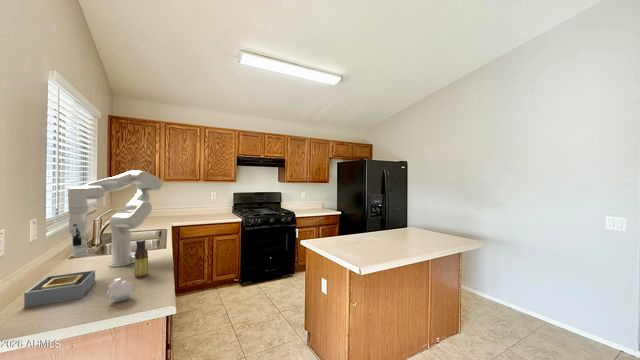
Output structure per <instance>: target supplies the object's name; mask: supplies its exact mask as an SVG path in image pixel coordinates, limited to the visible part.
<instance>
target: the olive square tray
mask: <svg viewBox="0 0 640 360" xmlns="http://www.w3.org/2000/svg"><path fill="white" fill-rule="evenodd" d="M82 281H83V274H82V275H75V276H67V277H59V278H53V279H51V280H50V281H49V282H47V283H46V284H45V285H44V286H42V287H41V290H44V289H51V288H58V287H65V286H72V285H79V284H81V282H82Z"/></svg>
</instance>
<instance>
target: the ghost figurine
mask: <svg viewBox="0 0 640 360" xmlns="http://www.w3.org/2000/svg"><path fill="white" fill-rule="evenodd" d="M134 287H135V286H134V284H133V282H131V281H130V280H128V279H127V280H126V279H123V278H122V277H120V278H119V277H118V278H115V279H114V280H112V282H111V283H110V284H109V285H108V286H107V289H108V290H107V291H106V292H105V295H106V297H109V298H110V299H111V301H113V302H119V303H120V302H124V301H126V300H128V299H129V298H130V297H131V296H132V294H133V293H134V290H135V288H134Z"/></svg>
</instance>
